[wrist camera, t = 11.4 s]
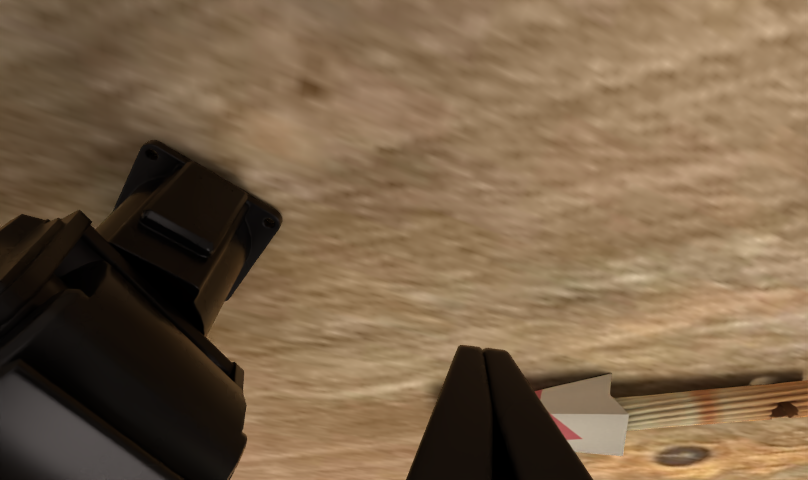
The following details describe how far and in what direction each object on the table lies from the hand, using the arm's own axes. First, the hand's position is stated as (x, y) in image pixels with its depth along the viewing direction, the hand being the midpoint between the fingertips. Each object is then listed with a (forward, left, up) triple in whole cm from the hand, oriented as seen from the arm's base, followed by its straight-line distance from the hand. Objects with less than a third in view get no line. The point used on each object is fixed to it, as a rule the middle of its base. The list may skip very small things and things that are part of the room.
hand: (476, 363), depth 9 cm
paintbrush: (-8, -18, -13) cm, 24 cm away
